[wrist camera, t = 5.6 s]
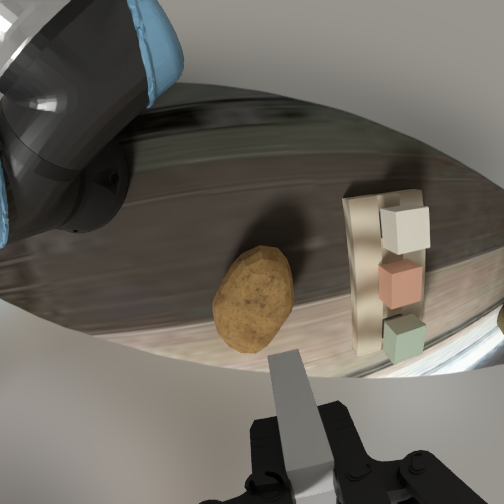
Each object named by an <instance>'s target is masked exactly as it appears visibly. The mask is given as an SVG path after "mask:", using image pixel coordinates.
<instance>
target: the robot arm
mask: <svg viewBox="0 0 504 504" xmlns="http://www.w3.org/2000/svg"><path fill="white" fill-rule="evenodd" d="M183 63H184V56H183V52H182V48H181V45H180V42H179V40H178V38H177V35H176V33H175V31H174V29H173V27H172V25H171V23H170V21H169V19H168V17H167V16H166V14H165V12H164V10H163V9H162V7H161V6H160V4H159V3H158V1H157V0H0V92H1V93H3V94H4V96H3V98H2V99H1V100H0V248H3V247H4V246H5V245H7V244H10V243H13V242H16V241H19V240H21V239H24V238H27V237H30V236H33V235H36V234H40V233H43V232H46V231H49V230H52V229H60V230H65V231H68V232H71V233H86V232H90V231H93V230H96V229H98V228H101V227H102V226H104V225H106V224H107V223H108V222H109V221H111V220H112V219H113V217H114V216H115V215H116V214H117V212H118V211H119V209H120V208H121V206H122V204H123V201H124V199H125V196H126V193H127V188H128V181H129V170H128V163H127V159H126V156H125V153H124V151H123V149H122V147H121V145H120V144H119V143H118V141H117V140H116V139H115V138H114V137H115V136H116V135H117V134H118V133H119V132H120V131H121V130H122V129H123V128H124V127H125V126H126V125H127V124H128V123H129V122H131V121H132V120H133V119H134V118H135V117H136V116H137V115H138V114H139V113H141V112H142V111H143V110H144V109H145V108H146V107H147V108H149V107H151V106H152V105H153V104H154V101H155V99H157V98H158V97H159V96H160V95H161V94H162V93H163V92H165V91H166V90H167V89H168V88H169V87H171V86H172V85H173V84H174V83H175V82H176V81H177V80H178V79H179V77H180V76H181V74H182V71H183V68H184V64H183ZM268 362H269V368H270V374H271V381H272V387H273V393H274V399H275V405H276V412H277V416H275V417H270V418H264V419H258V420H254V422H253V424H252V426H251V428H250V441H251V442H250V444H251V461H252V474H251V475H250V476H249V477H248V478H247V480H246V482H245V488H246V490H247V491H246V492H245V493H244V494H242V495H240V496H238V497H235V498H232V499H230V500H227V501H223V502H221V501H218V500H206V501H203V502H201V503H199V504H296V498H301V497H305V496H310V495H315V494H319V493H323V492H327V491H330V490H334V489H335V493H336V496H337V498H336V504H488V503H486V502H485V501H484V500H483V499H482V498H481V497H480V496H479V495H477V494H476V493H475V492H474V491H473V490H472V489H471V488H469V487H468V486H467V485H466V484H465V483H464V482H463V481H462V480H461V479H459V478H458V477H457V476H456V475H455V474H454V473H453V472H451V470H450V469H448V468H447V467H446V466H445V465H444V464H443V463H442V462H441V461H440V460H438V459H437V458H436V457H435V456H434V455H433V454H432V453H430V452H428V451H424V450H419V451H414V452H412V453H410V454H408V455H407V456H406V457H405V458H404V459H402V460H395V461H383V462H382V461H377V460H374V459H372V458H371V457H370V456H369V455H368V454H367V453H366V451H365V449H364V447H363V444H362V442H361V439H360V437H359V435H358V432H357V430H356V428H355V426H354V423H353V421H352V419H351V416H350V414H349V412H348V409H347V407H346V406H345V405H343V404H342V403H341V402H339V401H335V402H331V403H328V404H324V405H320V406H317V405H316V402H315V399H314V396H313V393H312V390H311V387H310V384H309V380H308V377H307V374H306V371H305V368H304V365H303V362H302V359H301V356H300V353H299V350H298V349H296V350H291V351H287V352H283V353H278V354H274V355H269V356H268Z"/></svg>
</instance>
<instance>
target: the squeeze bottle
mask: <svg viewBox="0 0 504 504" xmlns="http://www.w3.org/2000/svg"><path fill="white" fill-rule="evenodd" d="M497 324H498V326H499V328H500V329H501V331H502V333H503V334H504V306H503V308H502V309H501V311H500V313H499V316H498V320H497Z"/></svg>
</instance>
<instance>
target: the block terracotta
mask: <svg viewBox="0 0 504 504" xmlns="http://www.w3.org/2000/svg"><path fill="white" fill-rule="evenodd" d="M378 270H379V299H380V300H381V301H383V302H384V303H385V304H386V305H387V306H388V307H389V308H390V309H391V310H392V309H395V308H399V307H402V306H405V305H409V304H412V303H415V302H418V301H421V292H422V266H420V265H419V264H417V263H415V262H413V261H411V260H409V259H404V260H400V261H396V262H392V263H387V264H383V265H378Z"/></svg>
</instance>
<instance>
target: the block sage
mask: <svg viewBox="0 0 504 504" xmlns="http://www.w3.org/2000/svg"><path fill="white" fill-rule="evenodd" d="M425 332H426V324H424V323H423V322H422V321H421V320H420V319H419V318H417V317H416V316H415V315H414V314H413V313H412V314H409V315H406V316H403V317H402V316H401V315H398V316H395V317H391V318H388V319H385V320H384V329H383V336H384V341H383V351H384V352H385V353H386V355H387V356H388V357H389V359H390V360H391V361H392V362H393V364H396V363H399V362H402V361H405V360H407V359H410V358H413V357H415V356H418V355H421V354H422V353H423V346H424V339H425Z"/></svg>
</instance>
